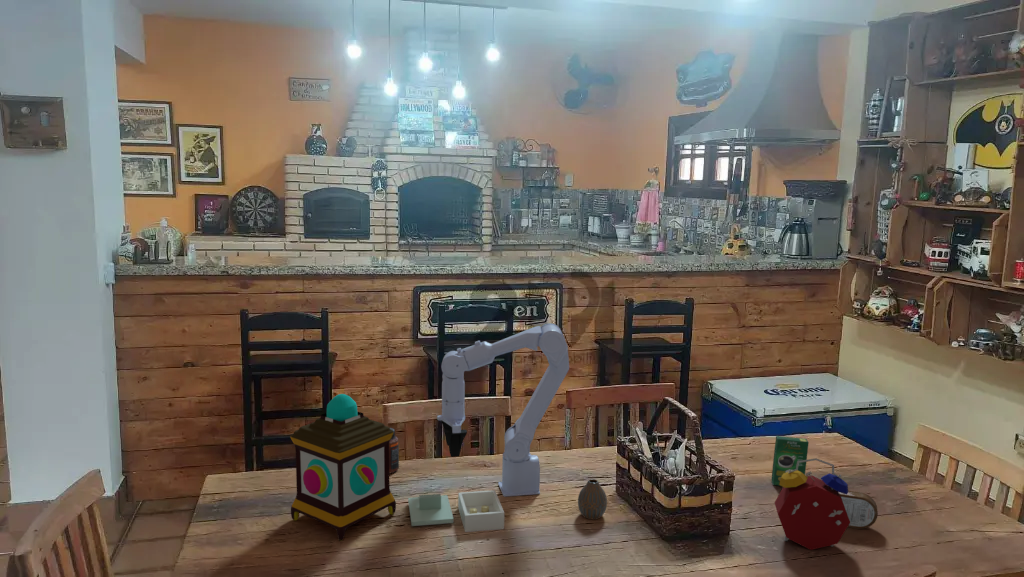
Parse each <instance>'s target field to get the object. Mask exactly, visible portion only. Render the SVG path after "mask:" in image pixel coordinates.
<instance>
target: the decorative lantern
mask: <svg viewBox="0 0 1024 577" xmlns="http://www.w3.org/2000/svg"><path fill="white" fill-rule="evenodd" d="M390 428H391V427H389V426H387V425H385V424H384V423H383V422H379V421H376V420H373V419H370V418H369V417H368V416H366V415H364V412H361V411H358V405H357V402H356V401H355V400H354V399H353V398H352V397H351V396H350V395H348V394H345V393H339V394H337V395H335V396H333V398H332V399H331V400H329V401H328V403H327V404H326V412H325V413H323V414H320V417H319V418H316V419H315V420H314V421H312V422H311V423H308V424H306V425H302V426H299V428H298V429H297V430H295V431H293V433H292V434H290V436H289V438H290V439H291V441H292V443H293V445H294V448H295V449H294V450H295V473H296V474H295V475H296V476H295V477H296V496H295V498H294V500H293V502H292V504H291V506H290V516H291V519H292V520H293V521H297V520H298V519H299V518H300V514H301V515H304V516H306V517H308V518H311V519H313V520H316V521H317V522H320V523H322V524H325V525H327V526H328V527H331V528H332V529H335V531H336V534H337V539H338V541H340V542H342V541H344V539H345V534H346V531H347V528H349V527H351V526H353V525H355V524H358V523H359V522H361V521H363V520H365V519H367V518H369V517H370V516H372V515H375V514H376V513H379V512H381V511H383V510H385V509H386V508H387V510H388V513H389V514H390V515H391V516H392V515H394V514H395V513H396V508H397V502H396V499H395V498H394V495H393V493H392V492H391V489H390V488H391V487H390V473H389V442H390V439H391V437H392V435H393V433H394V432H393V430H391V429H390Z"/></svg>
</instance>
